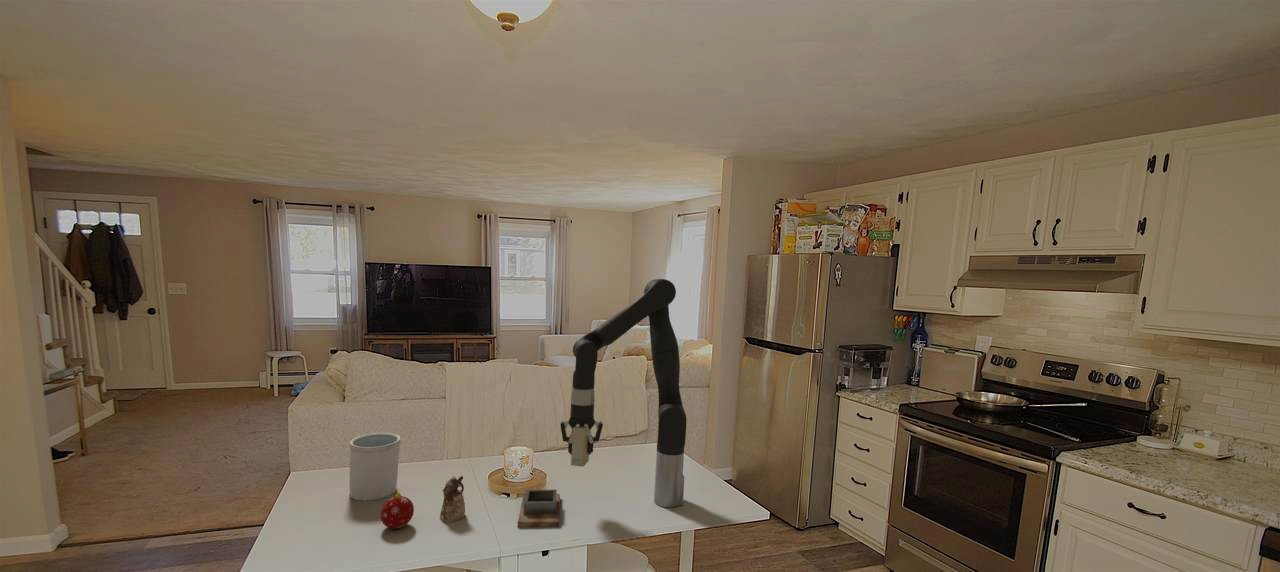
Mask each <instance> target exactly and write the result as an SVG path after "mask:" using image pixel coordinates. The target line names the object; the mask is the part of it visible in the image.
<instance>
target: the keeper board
mask: <svg viewBox="0 0 1280 572" xmlns="http://www.w3.org/2000/svg"><path fill="white" fill-rule="evenodd" d="M525 495H526V493H525V494H524V493H523V495H522V500H521V505H520V509H519V515H518V520H517V528H543V527H544V528H545V527H549V528H550V527H551V528H552V527H560V513H561V511H560V509H561V508H560V507H561V494H560V493H557V495H556V514H529V515H523V512H524V500H525Z"/></svg>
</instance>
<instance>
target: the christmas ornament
mask: <svg viewBox="0 0 1280 572" xmlns="http://www.w3.org/2000/svg"><path fill="white" fill-rule="evenodd" d="M414 507H415V506H414V503H413V501H412V500H411V499H410V498H408V497H406V496H404V495H403V496H402V494H401V493H400V491H398V492H396V494H395V496H394V497H391V498H390V499H388V500H387V501H385V503H384V505H383V506H382V507H381V511H380V520H381V522H382V524H383V525H384V526H385V527H387V528H388V529H393V530H396V529H400V528H403V527H405V526H407V525H408V523H409V522H410V521H411V520H412V519H413V516H414V512H415V508H414Z"/></svg>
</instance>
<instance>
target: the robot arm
mask: <svg viewBox="0 0 1280 572" xmlns="http://www.w3.org/2000/svg"><path fill="white" fill-rule="evenodd" d="M676 294H677V289H676V287H675V285H674V283H673V282H672V281H670V280H668V279H666V278H665V279H664V278H656V279H652V280H650V281H649V282H647V284H646V285H645V287H644V290H643V295H642V296H641V297H639V299H637V300H636V301H634V302H633V303H632V304H629V306H627V307H626V308H623V309H622V310H620V311H619V312H617V313H615V314H613V315H612V316H611V317H609V318H608V319H606V320H605V321H604V322H602V324H600V325H599V326H597V328H595V329H593V330H591V331H590V332H588V333H586V334H584V335H583V336H581V337H580V338H579V339H577V341H575V342H574V344H573V346H572V354H573V356H574V357H575V370H574V371H573V374H572V386H571V387H572V388H571V395H570V416H569V419H568V420H565V421H563V420H561V421H560V431H561V435H562V436H561V437H562V441H563V442H567V443H568V447H567V452H568V453H569V455H570V456H571V455H572V437H573V427H577V428H579V427H584V428H587V430H588V431H587V436H588V438H589V450H588V454H589V456H590V455H592V453H594V443H596V442H599V441H600V438H601V435H602V430H603V426H604V423H603V421H601V420H600V421H597V420H595V418H594V417H595V401H596V400H595V398H596V397H595V396H596V395H595V382H596V381H595V380H596V379H595V375H596V374H595V372H596V369H597V363H598V357H599V356H598V355H599V354H598V351H599V350H601V349H602V348H604V347H607V346H611V344H613V343H614V342H616V341H617V340H618V339H619V338H621V337H622V336H624V335H625V334H626V333H627V332H628V331H629V330H631V329H632V328H634V327H636V325H638V323H640V322H642V321H643V320H644V319H645V318H647V317H648V321H649V339H650V349H651V359H652V366H653V373H654V376H655V381H656V384H657V391H658V411H657V413H658V414H657V415H658V416H657V417H658V424H657V425H658V426H657V439H656V440H657V441H656V455H655V456H656V458H655V459H656V460H655V475H654V476H655V478H654V495H653V497H654V498H653V500H654V501H653V502H654V503H655V504H656V505H658V506H660V507H663V508H676V506H677V507H679V506H683V505H684V492H685V491H684V490H685V476H684V458H685V446H686V438H687V437H686V434H687V414H686V412H685V408H684V406H683V401H682V397H681V391H680V374H681V373H680V372H681V370H680V369H681V363H680V353H679V352H680V349H679V344H678V340H677V336H676V334H675V332H674V328H673V326H672V323H671V319H670V311H669V309H670V307H669V305H670V304H671V303H672V302H673V301H674V300H675V298H676ZM568 426H569V427H570V428H571V431H570V435H569V436H567V431H566V429H567V428H568ZM593 427H595V428H596V431H595V436H593V434H592V431H591V430H592V428H593Z"/></svg>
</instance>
